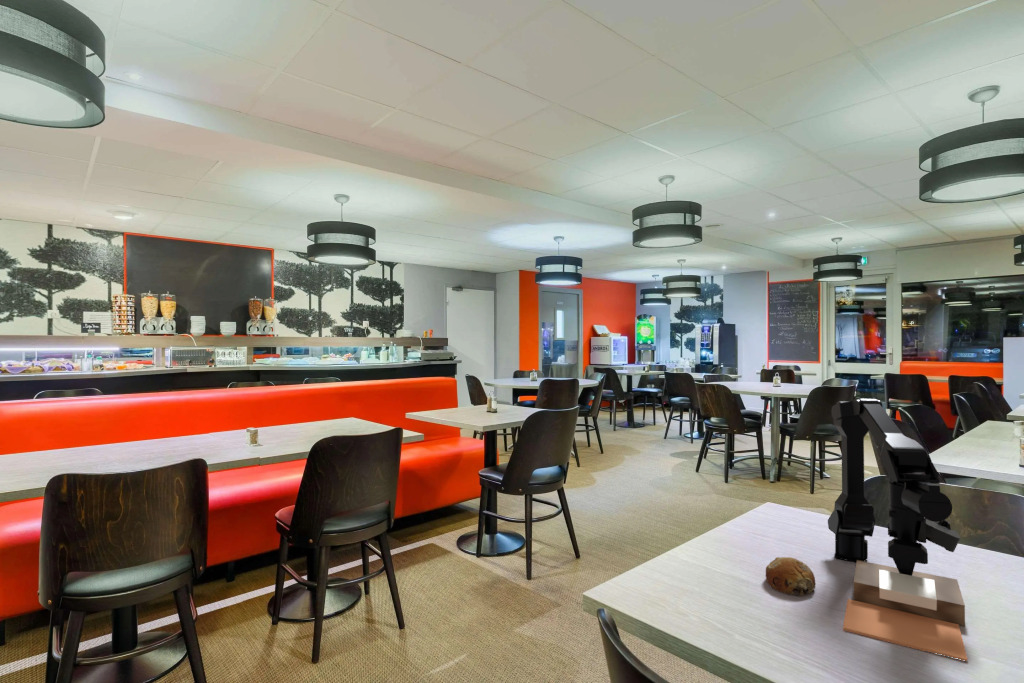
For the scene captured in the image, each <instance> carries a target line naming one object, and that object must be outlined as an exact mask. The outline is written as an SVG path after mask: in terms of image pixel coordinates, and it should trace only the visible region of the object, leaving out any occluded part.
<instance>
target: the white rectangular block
mask: <svg viewBox="0 0 1024 683" xmlns="http://www.w3.org/2000/svg"><path fill="white" fill-rule="evenodd" d="M879 590H880V598H881V599H886V600H891V601H895V602H900V603H904V604H909V605H914V606H918V607H923V608H927V609H932V610H936V611H937V598H936V591H935V583H934V580H931V579H926V578H921V577H916V576H911V575H905V574H900V573H895V572H890V571H885V570H879Z"/></svg>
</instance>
